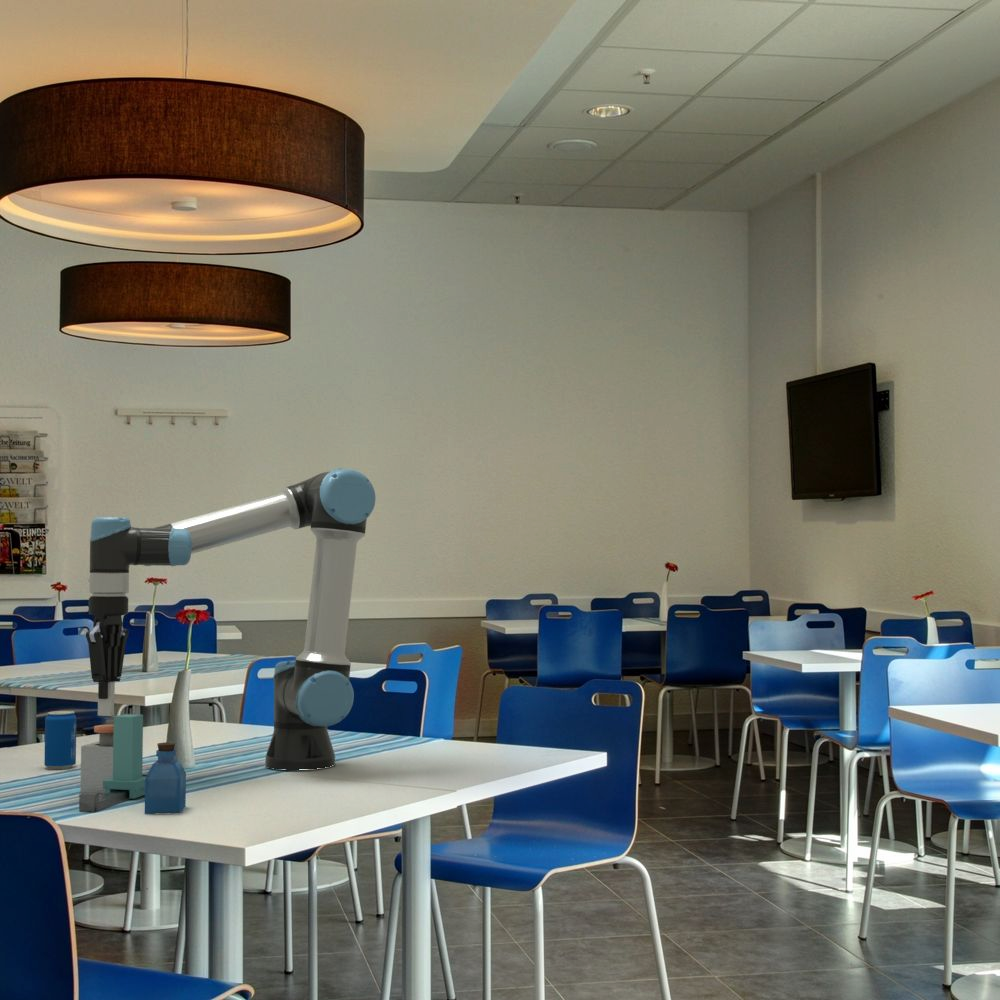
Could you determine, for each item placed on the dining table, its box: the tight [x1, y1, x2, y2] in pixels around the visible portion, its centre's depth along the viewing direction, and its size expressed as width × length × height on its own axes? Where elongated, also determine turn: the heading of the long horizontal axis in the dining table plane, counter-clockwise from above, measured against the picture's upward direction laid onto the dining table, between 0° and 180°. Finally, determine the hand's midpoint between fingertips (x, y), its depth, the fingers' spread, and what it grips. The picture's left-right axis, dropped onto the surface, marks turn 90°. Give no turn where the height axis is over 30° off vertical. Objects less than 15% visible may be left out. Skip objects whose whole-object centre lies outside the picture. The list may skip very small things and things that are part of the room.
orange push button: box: [93, 724, 114, 746], centre depth 256 cm, size 5×5×6 cm
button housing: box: [79, 740, 113, 795], centre depth 256 cm, size 7×7×9 cm
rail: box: [78, 772, 148, 813], centre depth 246 cm, size 3×24×3 cm, turn 168°
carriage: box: [103, 713, 146, 800], centre depth 249 cm, size 7×6×15 cm
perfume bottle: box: [144, 742, 187, 815], centre depth 236 cm, size 6×6×12 cm
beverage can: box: [43, 710, 77, 771], centre depth 283 cm, size 6×6×12 cm
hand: (105, 715), depth 256 cm, fingers closed
